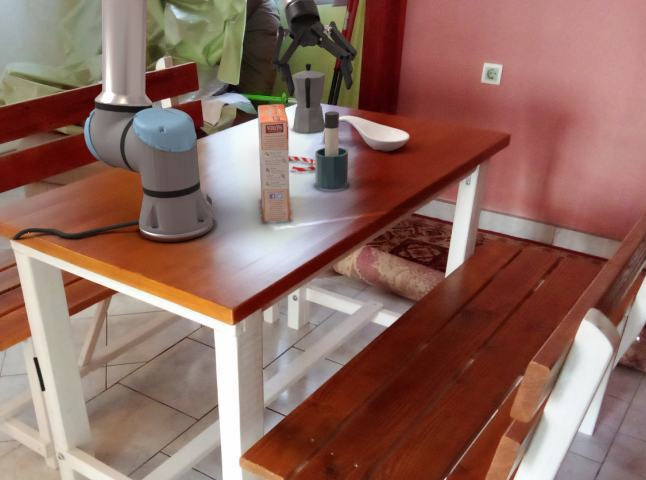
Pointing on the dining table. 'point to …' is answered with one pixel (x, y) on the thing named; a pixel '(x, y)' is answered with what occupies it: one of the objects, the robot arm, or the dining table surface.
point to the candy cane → (293, 158)
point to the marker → (331, 133)
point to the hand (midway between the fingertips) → (321, 89)
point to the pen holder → (331, 169)
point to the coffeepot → (308, 101)
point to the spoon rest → (376, 134)
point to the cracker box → (274, 162)
